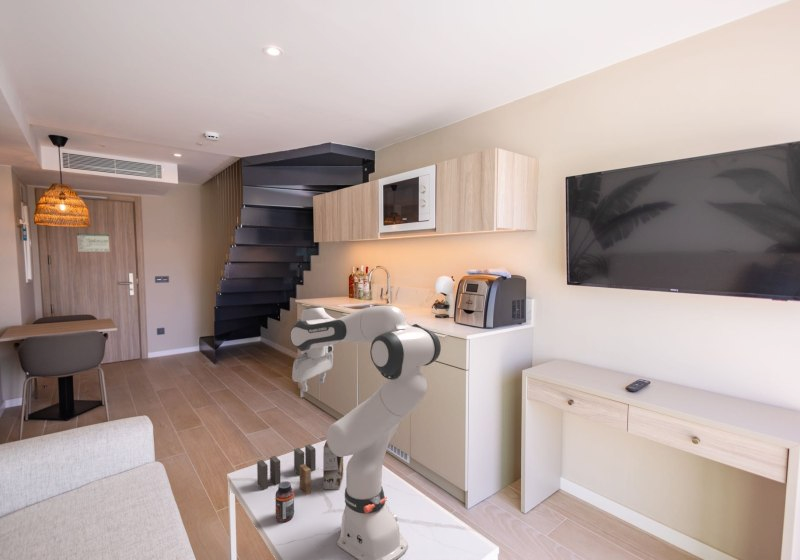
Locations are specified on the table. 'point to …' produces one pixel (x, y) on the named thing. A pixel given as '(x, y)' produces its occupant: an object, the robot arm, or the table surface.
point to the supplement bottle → (284, 502)
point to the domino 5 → (305, 479)
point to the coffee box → (332, 469)
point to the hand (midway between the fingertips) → (313, 387)
